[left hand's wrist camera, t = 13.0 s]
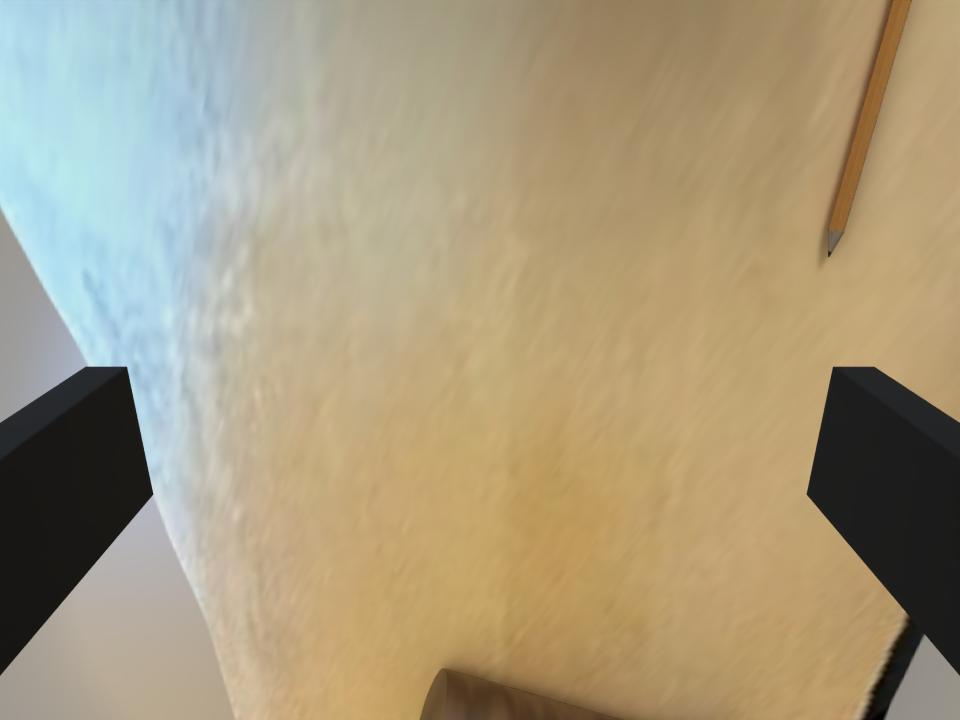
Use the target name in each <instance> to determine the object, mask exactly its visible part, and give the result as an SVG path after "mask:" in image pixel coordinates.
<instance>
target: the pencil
mask: <svg viewBox="0 0 960 720" xmlns="http://www.w3.org/2000/svg"><path fill="white" fill-rule="evenodd" d="M910 4H911V0H893V4H892V7H891V11H890V14H889V18H888V21H887V25H886V28H885V32H884V35H883V39H882V42H881V46H880V50H879V53H878V57H877V60H876V64H875V67H874V71H873V74H872V78H871V81H870V85H869V88H868V92H867V95H866V99H865V102H864V106H863V110H862V113H861V117H860V120H859V124H858V127H857V131H856V134H855V138H854V141H853V145H852V148H851V152H850V155H849V159H848V163H847V166H846V170H845V173H844V177H843V180H842V184H841V187H840V191H839V194H838V198H837V201H836V205H835V208H834V212H833V215H832V219H831V223H830V226H829V230H828V257H829V256H830V255H831V253H832V251H833V250H834V248H835V246H836V245H837V243H838V241H839V240H840V238H841V236H842V235H843V233H844V230H845V226H846V223H847V219H848V216H849V213H850V209H851V206H852V202H853V199H854V196H855V192H856V189H857V185H858V182H859V178H860V175H861V172H862V168H863V165H864V161H865V158H866V154H867V151H868V148H869V144H870V141H871V137H872V134H873V130H874V127H875V124H876V120H877V117H878V113H879V110H880V106H881V103H882V100H883V96H884V93H885V89H886V86H887V82H888V79H889V76H890V72H891V69H892V65H893V62H894V58H895V55H896V52H897V48H898V45H899V41H900V38H901V35H902V31H903V28H904V24H905V21H906V17H907V14H908V11H909V7H910Z"/></svg>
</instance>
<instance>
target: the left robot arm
mask: <svg viewBox="0 0 960 720" xmlns="http://www.w3.org/2000/svg"><path fill="white" fill-rule="evenodd" d="M152 495H153V490H152V486H151V481H150V476H149V471H148V466H147V461H146V457H145V452H144V447H143V442H142V437H141V432H140V428H139V423H138V418H137V413H136V408H135V403H134V399H133V394H132V389H131V384H130V379H129V374H128V370H127V367H85V368H83V369H82V370H80V371H79V372H77V373H76V374H74V375H72V376H71V377H69V378H68V379H66V380H65V381H63V382H62V383H60V384H59V385H57V386H56V387H54V388H53V389H51V390H50V391H48V392H47V393H45V394H44V395H42V396H40V397H39V398H37V399H36V400H34V401H33V402H31V403H30V404H28V405H27V406H25V407H24V408H22V409H21V410H19V411H18V412H16V413H15V414H13V415H12V416H10V417H8V418H7V419H5V420H4V421H2V422H1V423H0V675H1V674H2V673H3V672H4V671H5V669H6V668H7V667H8V666H9V665H10V663H11V662H12V661H13V660H14V659H15V657H16V656H17V655H18V654H19V653H20V652H21V650H22V649H23V648H24V647H25V646H26V644H27V643H28V642H29V641H30V640H31V639H32V637H33V636H34V635H35V634H36V633H37V631H38V630H39V629H40V628H41V627H42V626H43V624H44V623H45V622H46V621H47V620H48V618H49V617H50V616H51V615H52V614H53V612H54V611H55V610H56V609H57V608H58V607H59V605H60V604H61V603H62V602H63V601H64V600H65V598H66V597H67V596H68V595H69V594H70V592H71V591H72V590H73V589H74V588H75V586H76V585H77V584H78V583H79V582H80V581H81V579H82V578H83V577H84V576H85V575H86V573H87V572H88V571H89V570H90V569H91V568H92V566H93V565H94V564H95V563H96V562H97V560H98V559H99V558H100V557H101V556H102V555H103V553H104V552H105V551H106V550H107V549H108V547H109V546H110V545H111V544H112V543H113V542H114V540H115V539H116V538H117V537H118V536H119V534H120V533H121V532H122V531H123V530H124V529H125V527H126V526H127V525H128V524H129V523H130V521H131V520H132V519H133V518H134V517H135V515H136V514H137V513H138V512H139V511H140V510H141V508H142V507H143V506H144V505H145V504H146V502H147V501H148V500H149V499H150V498H151V497H152ZM807 495H808V497H809V498H810V499H811V500H812V501H813V502H814V504H815V505H816V506H817V507H818V508H819V510H820V511H821V512H822V513H823V514H824V516H825V517H826V518H827V519H828V520H829V521H830V523H831V524H832V525H833V526H834V527H835V529H836V530H837V531H838V532H839V533H840V534H841V536H842V537H843V538H844V539H845V540H846V542H847V543H848V544H849V545H850V546H851V547H852V549H853V550H854V551H855V552H856V553H857V555H858V556H859V557H860V558H861V559H862V560H863V562H864V563H865V564H866V565H867V566H868V568H869V569H870V570H871V571H872V572H873V573H874V575H875V576H876V577H877V578H878V579H879V581H880V582H881V583H882V584H883V585H884V587H885V588H886V589H887V590H888V591H889V592H890V594H891V595H892V596H893V597H894V598H895V600H896V601H897V602H898V603H899V604H900V605H901V607H902V608H903V609H904V610H905V611H906V613H907V614H908V615H909V616H910V617H911V618H912V620H913V621H914V622H915V623H916V624H917V626H918V627H919V628H920V629H921V630H922V631H923V633H924V634H925V635H926V636H927V637H928V639H929V640H930V641H931V642H932V643H933V644H934V646H935V647H936V648H937V649H938V650H939V652H940V653H941V654H942V655H943V656H944V657H945V659H946V660H947V661H948V662H949V663H950V665H951V666H952V667H953V668H954V669H955V670H956V672H957V673H958V674H959V675H960V423H959V422H958V421H956V420H955V419H953V418H952V417H950V416H948V415H947V414H945V413H944V412H942V411H941V410H939V409H938V408H936V407H935V406H933V405H932V404H930V403H929V402H927V401H926V400H924V399H923V398H921V397H920V396H918V395H916V394H915V393H913V392H912V391H910V390H909V389H907V388H906V387H904V386H903V385H901V384H900V383H898V382H897V381H895V380H894V379H892V378H891V377H889V376H888V375H886V374H885V373H883V372H881V371H880V370H878V369H877V368H875V367H833V370H832V374H831V379H830V384H829V389H828V394H827V399H826V403H825V408H824V413H823V418H822V423H821V428H820V432H819V437H818V442H817V447H816V452H815V457H814V461H813V466H812V471H811V476H810V481H809V486H808V490H807Z"/></svg>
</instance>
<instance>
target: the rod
mask: <svg viewBox="0 0 960 720" xmlns="http://www.w3.org/2000/svg"><path fill="white" fill-rule="evenodd" d="M420 720H619V719H616V718H612V717H609V716H606V715H602V714H599V713H595V712H592V711H588V710H585V709H582V708H578V707H575V706H571V705H568V704H564V703H561V702H558V701H554V700H551V699H547V698H544V697H540V696H537V695H534V694H530V693H527V692H523V691H520V690H516V689H513V688H510V687H506V686H503V685H499V684H496V683H492V682H489V681H486V680H482V679H479V678H475V677H472V676H468V675H465V674H462V673H458V672H455V671H451V670H448V669H441V670H440V671H439V672H438V674H437V675H436V677H435V679H434V681H433V683H432V685H431V687H430V690H429V692H428V695H427V698H426V701H425V704H424V707H423V710H422V714H421V717H420Z"/></svg>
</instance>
